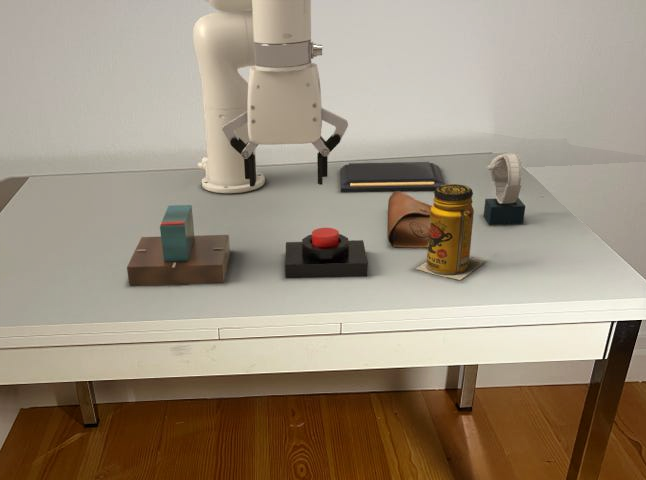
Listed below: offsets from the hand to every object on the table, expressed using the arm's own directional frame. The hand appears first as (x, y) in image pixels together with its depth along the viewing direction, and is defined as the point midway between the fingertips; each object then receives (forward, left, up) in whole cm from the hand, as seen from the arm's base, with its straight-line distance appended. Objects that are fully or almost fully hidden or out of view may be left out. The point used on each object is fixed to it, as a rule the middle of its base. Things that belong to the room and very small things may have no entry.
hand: (286, 182), depth 108 cm
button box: (+4, +4, -13) cm, 14 cm away
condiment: (+19, +15, -13) cm, 28 cm away
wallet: (-12, +45, -13) cm, 48 cm away
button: (+4, +4, -9) cm, 11 cm away
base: (-13, -10, -13) cm, 21 cm away
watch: (+16, +37, -13) cm, 42 cm away
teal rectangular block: (-13, -10, -10) cm, 19 cm away
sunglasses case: (+6, +25, -13) cm, 29 cm away
